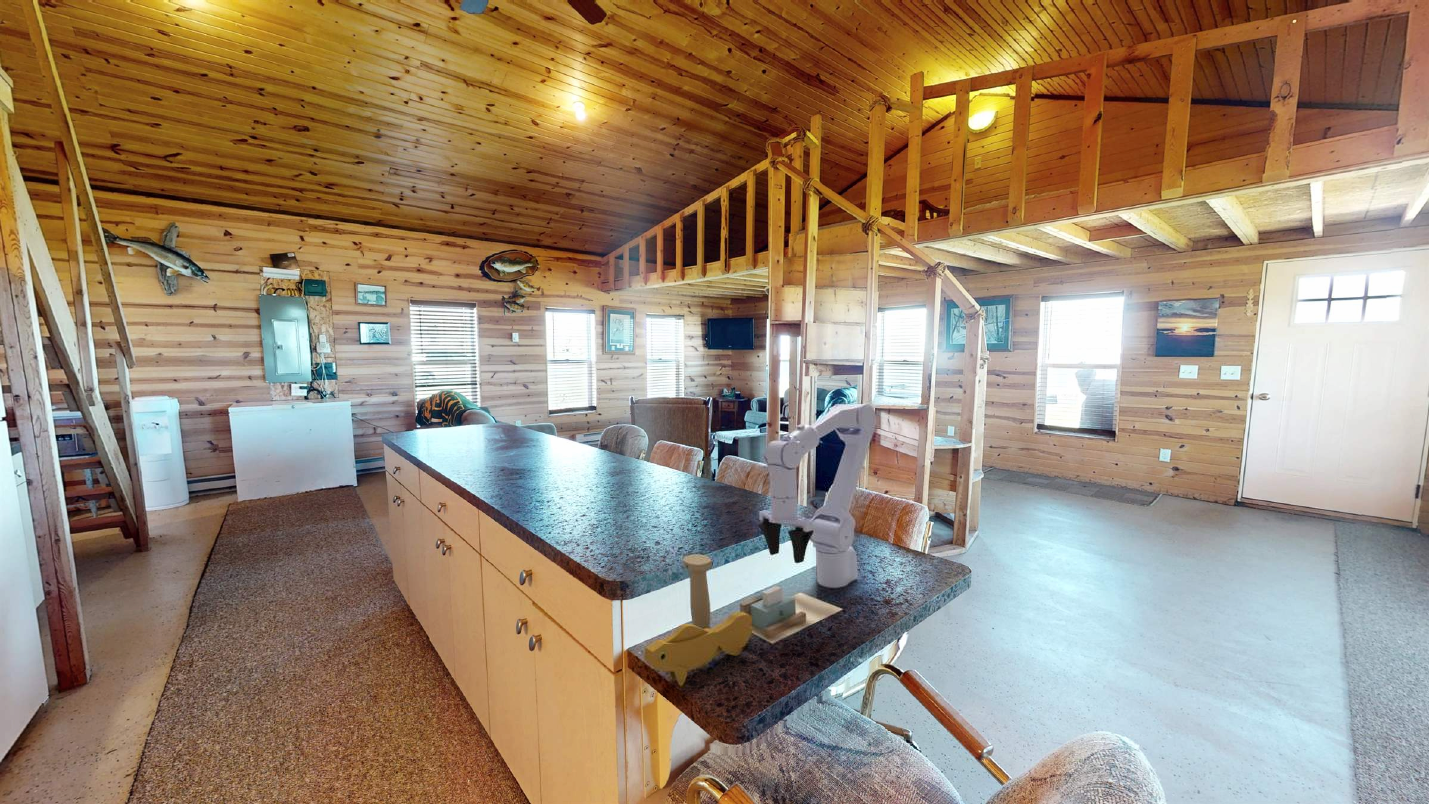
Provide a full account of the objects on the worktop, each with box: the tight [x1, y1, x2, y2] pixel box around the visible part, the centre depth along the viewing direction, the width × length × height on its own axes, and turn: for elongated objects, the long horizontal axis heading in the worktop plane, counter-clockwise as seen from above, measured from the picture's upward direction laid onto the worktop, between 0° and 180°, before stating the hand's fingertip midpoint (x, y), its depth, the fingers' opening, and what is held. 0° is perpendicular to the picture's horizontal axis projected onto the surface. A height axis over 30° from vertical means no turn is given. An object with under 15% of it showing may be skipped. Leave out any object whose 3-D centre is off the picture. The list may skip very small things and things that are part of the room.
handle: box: [682, 553, 713, 629], centre depth 103 cm, size 5×6×15 cm
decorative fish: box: [643, 611, 753, 687], centre depth 90 cm, size 22×3×10 cm, turn 127°
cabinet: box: [750, 585, 796, 631], centre depth 104 cm, size 8×5×6 cm, turn 127°
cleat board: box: [739, 592, 843, 644], centre depth 106 cm, size 20×12×5 cm, turn 127°
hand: (786, 557), depth 113 cm, fingers open, 7 cm apart
